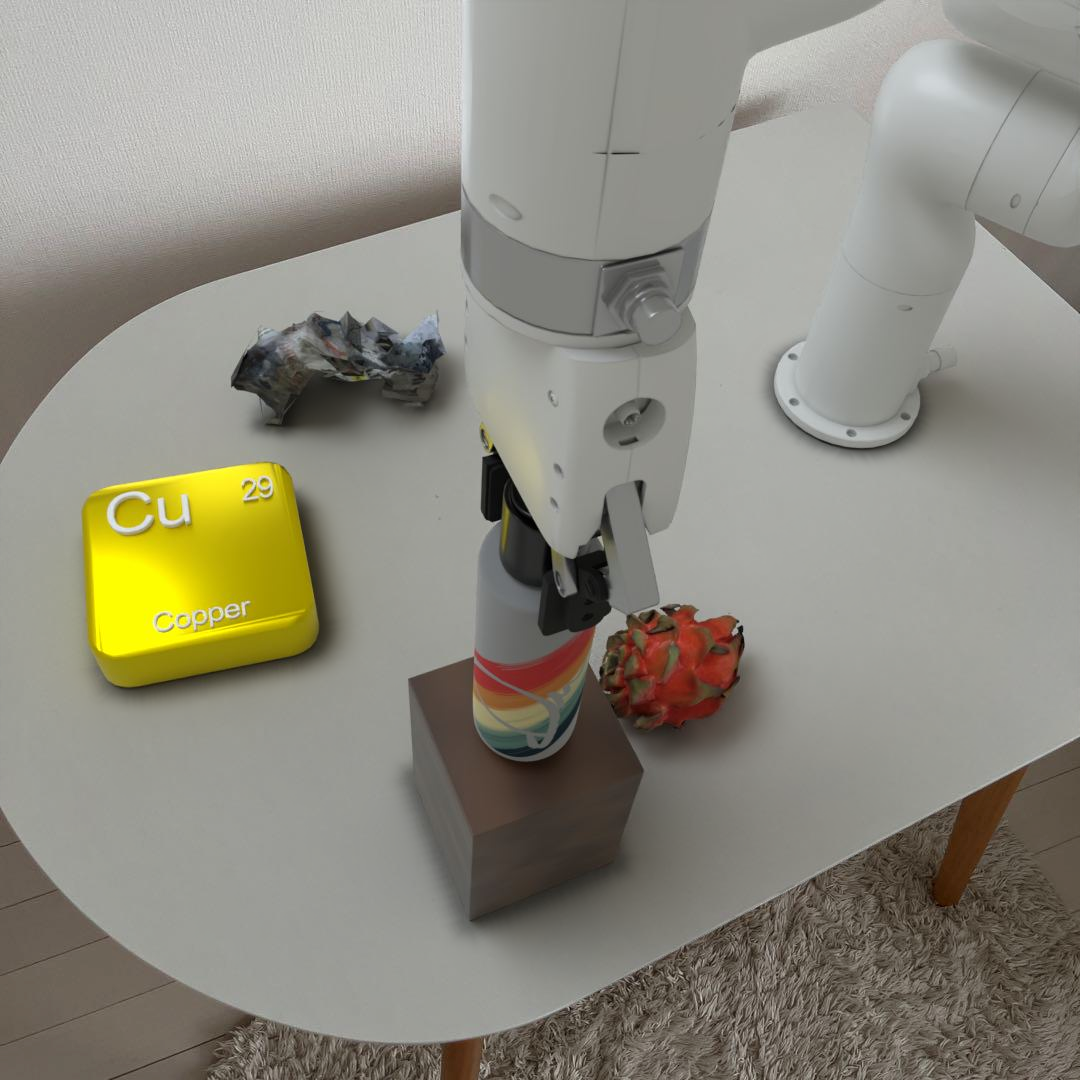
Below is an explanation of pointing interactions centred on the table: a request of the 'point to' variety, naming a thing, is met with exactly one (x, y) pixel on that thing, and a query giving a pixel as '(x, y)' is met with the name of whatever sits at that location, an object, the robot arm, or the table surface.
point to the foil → (340, 359)
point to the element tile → (196, 574)
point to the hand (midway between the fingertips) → (543, 560)
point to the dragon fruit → (671, 666)
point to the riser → (518, 793)
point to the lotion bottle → (523, 643)
